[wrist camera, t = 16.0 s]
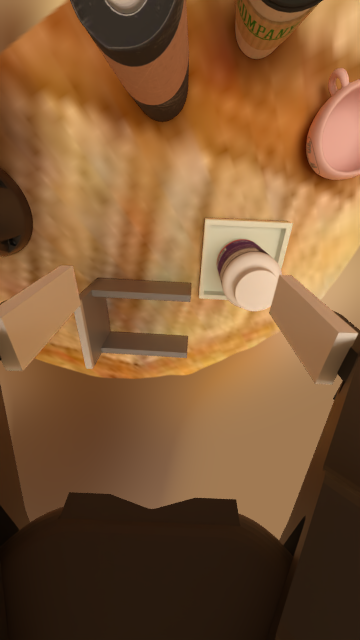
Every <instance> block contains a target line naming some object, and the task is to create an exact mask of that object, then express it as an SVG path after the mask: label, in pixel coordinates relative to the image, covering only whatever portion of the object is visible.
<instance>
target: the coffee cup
mask: <svg viewBox="0 0 360 640" xmlns="http://www.w3.org/2000/svg"><path fill="white" fill-rule="evenodd" d="M321 1H323V0H236V3H235V14H236V19H235V34H236V39H237V43H238V45H239V47H240V49H241V51H242V52H243V53H244V54H245V55H246V56H248V57H250V58H252V59H261V58H264V57H266V56H268V55H269V54H271V53H272V52H273V51H274V50H275V49H276V48H277V47H278V45H280V44H281V43H282V42H283V41H284V40H285V39H287V38H288V37H289V35H290V34H291V33H292V32H293V31H294V30H295V29H296V28H297V27H298V26H299V25H300V23H301V22H302V21H303V20H304V19H305V18H306V17H307V16H308V15H309V14H310V13H311V11H312V10H313V9H314V8H315V7H316V6H317V5H318V4H319V3H320V2H321Z"/></svg>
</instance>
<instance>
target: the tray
mask: <svg viewBox="0 0 360 640" xmlns="http://www.w3.org/2000/svg"><path fill="white" fill-rule="evenodd" d="M292 225H293V223H291V222H288V221H271V220H248V219H226V218H205V223H204V235H203V247H202V259H201V272H200V284H199V298H202V299H220V300H228V299H227V298H226V296H225V294H224V292H223V288H222V285H221V281H220V278H219V274H218V271H217V265H216V263H217V257H218V254H219V253H220V251H221V249H222V248H223V247H224V246H225V245H226V244H228V243H229V242H231V241H233V240H236V239H248V240H251V241H253V242H255V243H256V244H257V245H258V246H260V247H261V248H262V249H263V250H264V251H265V252H267V253H268V254H269V255H270V256H271V257H272V258H273V259H275V261H276V262H277V263H278V264H279V266H280V269H281V268H282V264H283V260H284V256H285V253H286V249H287V245H288V241H289V237H290V233H291V229H292Z"/></svg>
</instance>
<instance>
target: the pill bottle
mask: <svg viewBox="0 0 360 640" xmlns="http://www.w3.org/2000/svg"><path fill="white" fill-rule="evenodd" d="M216 265H217V271H218V274H219V278H220V281H221V285H222V288H223V292H224V294H225V296H226V298H227V299H228V300H229V301H230V302H231V303H232V304H234V305H235V306H238V307H240V308H244V309H246V310H249V311H261V310H264V309H266V308H268V307H270V306H271V304H272V300H273V297H274V293H275V289H276V285H277V282H278V278H279V275H282V272H281V269H280V266H279V264H278V263H277V262H276V261H275V259H273V258H272V257H271V256H270V255H269V254H268V253H267V252H265V251H264V250H263V249H262V248H261V247H260V246H258V245H257V244H256V243H255V242H253V241H251V240H248V239H236V240H233V241H231V242H229V243H228V244H226V245H225V246H224V247H223V248H222V249H221V251H220V253H219V254H218V257H217V263H216Z"/></svg>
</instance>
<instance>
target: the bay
mask: <svg viewBox="0 0 360 640" xmlns="http://www.w3.org/2000/svg"><path fill="white" fill-rule="evenodd" d="M106 297H111V298H129V299H146V300H164V301H182V302H190V299H191V283H182V282H163V281H145V280H126V279H107V278H97V279H96V280H95V281H94V282H92V283H91V284H90V285H89V286H88V287H87V288H86V289H85V290H84V291H83V292H82V293H80V294H79V298H80V303H81V305H80V306H79V307H78V308H77V309H76V311H75V312H74V314H75V319H76V324H77V328H78V333H79V338H80V342H81V347H82V352H83V356H84V361H85V366H86V368H88V369H93V367H94V365H95V364H96V362H97V360H98V358H99V357H100V355H101V353H116V354H132V355H148V356H164V357H180V358H187V343H188V336H178V335H161V334H144V333H128V332H111V331H110V323H109V316H108V308H107V301H106Z"/></svg>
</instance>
